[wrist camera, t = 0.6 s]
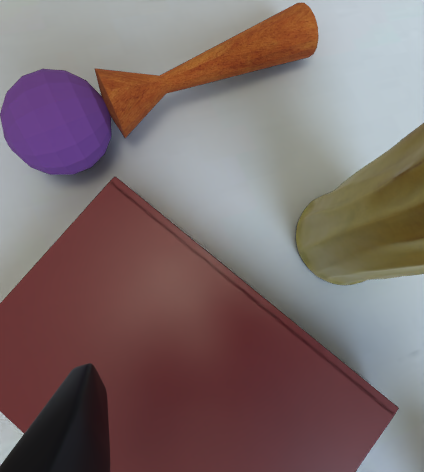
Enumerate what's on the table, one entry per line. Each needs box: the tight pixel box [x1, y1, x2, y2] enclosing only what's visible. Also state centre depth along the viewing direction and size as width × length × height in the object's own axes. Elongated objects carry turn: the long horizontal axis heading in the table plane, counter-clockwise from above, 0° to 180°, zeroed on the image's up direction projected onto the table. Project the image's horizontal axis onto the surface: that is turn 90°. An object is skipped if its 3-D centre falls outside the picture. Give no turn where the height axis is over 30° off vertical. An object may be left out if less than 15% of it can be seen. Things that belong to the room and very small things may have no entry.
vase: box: [296, 123, 424, 285], centre depth 16 cm, size 6×6×14 cm
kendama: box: [0, 3, 318, 175], centre depth 22 cm, size 6×6×20 cm
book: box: [0, 177, 398, 472], centre depth 21 cm, size 20×13×3 cm, turn 51°
